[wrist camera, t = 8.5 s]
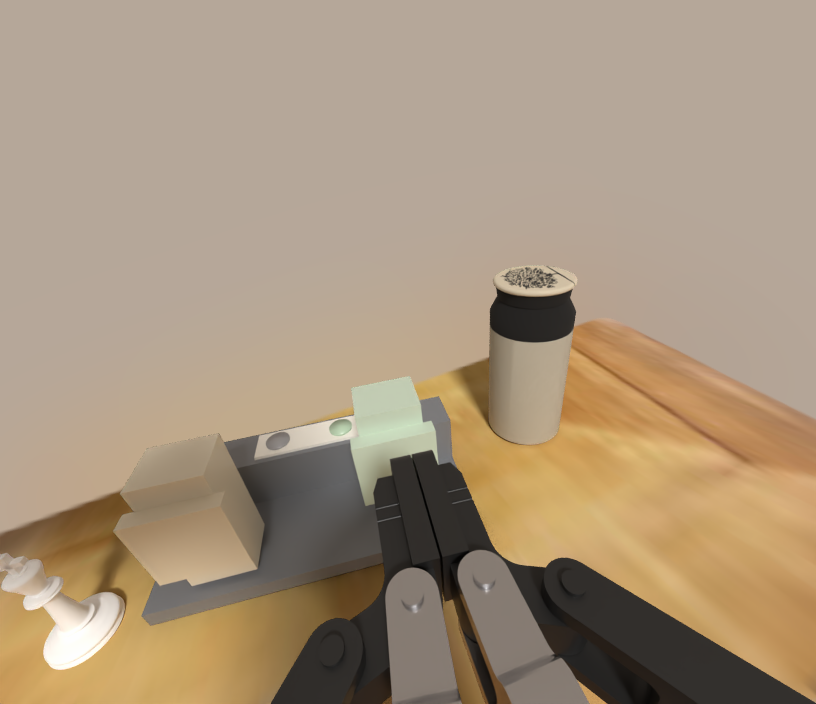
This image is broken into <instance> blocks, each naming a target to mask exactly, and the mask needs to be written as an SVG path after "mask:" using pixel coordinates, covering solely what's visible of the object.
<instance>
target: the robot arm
mask: <svg viewBox="0 0 816 704" xmlns="http://www.w3.org/2000/svg"><path fill="white" fill-rule="evenodd" d="M411 457H412V458H411ZM390 465H391V472H392V475H391V476H387V477H382V478H378V479H377V482H376V485H375V488H374V492H373V495H374V502H375V509H376V516H377V522H378V530H379V536H380V543H381V550H382V557H383V564H384V572H385V578H384V584H383V587H382V590H381V592H380V594H379V596H378V597H377V599H376V600H375V601H374V602H373V603H372V605H370V606H369V607H368V608H367V609H365V610H364V611H363V612H361V613H360V614H358V615H357V616H355V617H354V618H353V619H351V620H350V621H349V620H346V619H342V618H335V619H331V620H328V621H326V622H324V623H323V624H321V625H320V626H319V627H318V628H317V629H316V630H315V631H314V632H313V633H312V635H311V636H310V638H309V640H308V641H307V643H306V645H305V646H304V648H303V650H302V651H301V653H300V655H299V656H298V658H297V660H296V662H295V663H294V665H293V667H292V668H291V670H290V672H289V673H288V675H287V677H286V678H285V680H284V682H283V684H282V685H281V687H280V689H279V690H278V692H277V694H276V695H275V697H274V699H273V700H272V702H271V704H382V703H383V702H384V701H385V700H386V699H387V698H389V697H390V696H391V695H392V704H462V702H461V698H460V694H459V692H458V688H457V683H456V678H455V673H454V668H453V662H452V657H451V652H450V647H449V641H448V636H447V631H446V626H445V620H444V615H443V604H442V602H443V597H442V592H443V596H444V600H445V601H449V600H452V599H453V601H454V605H455V608H456V612H457V615H458V624H459V630H460V634H461V636H462V639H463V642H464V645H465V648H466V651H467V653H468V656H469V659H470V662H471V665H472V668H473V671H474V673H475V676H476V679H477V682H478V685H479V688H480V690H481V693H482V696H483V699H484V702H485V704H589V702H588V700H587V698H586V696H585V695H584V693H583V691H582V689H581V687H580V685H579V683H578V682H577V680H578V681H579V682H581V683H582V684H583V685H584V686H586V687H587V688H588V689H589V690H591V691H592V692H593V693H595V694H596V695H597V696H598V697H600V698H601V699H602V700H603V701H605V702H606V703H607V704H816V703H815V702H813V701H812V700H810V699H808V698H807V697H805V696H803V695H801V694H800V693H798V692H796V691H795V690H793V689H791V688H790V687H788V686H786V685H785V684H783V683H781V682H780V681H778V680H776V679H775V678H773V677H771V676H770V675H768V674H766V673H765V672H763V671H761V670H760V669H758V668H756V667H755V666H753V665H751V664H750V663H748V662H746V661H745V660H743V659H741V658H740V657H738V656H736V655H735V654H733V653H731V652H730V651H728V650H726V649H725V648H723V647H721V646H720V645H718V644H716V643H715V642H713V641H711V640H710V639H708V638H706V637H704V636H703V635H701V634H699V633H698V632H696V631H694V630H693V629H691V628H689V627H688V626H686V625H684V624H683V623H681V622H679V621H678V620H676V619H674V618H673V617H671V616H669V615H668V614H666V613H664V612H663V611H661V610H659V609H658V608H656V607H654V606H653V605H651V604H649V603H648V602H646V601H644V600H643V599H641V598H639V597H638V596H636V595H634V594H633V593H631V592H629V591H628V590H626V589H624V588H623V587H621V586H619V585H618V584H616V583H614V582H613V581H611V580H609V579H608V578H606V577H604V576H602V575H601V574H599V573H597V572H596V571H594V570H592V569H591V568H589V567H587V566H586V565H584V564H582V563H581V562H579V561H577V560H574V559H570V558H558V559H555V560H553V561H551V562H550V563H549V564H548V565H547V567H546V568H544V567H534V566H524V565H518V564H515V563H512V562H510V561H508V560H507V559H505V558H503V557H502V556H501V555H500V554H499V553H498V552H497V551H496V550H495V548H494V547H493V545H492V543H491V541H490V539H489V536H488V534H487V532H486V529H485V527H484V525H483V522H482V520H481V518H480V515H479V513H478V511H477V508H476V506H475V504H474V501H473V500H472V497H471V494H470V492H469V490H468V488H467V485H466V483H465V480H464V478H463V476H462V473H461V472H460V471H459V470H458V469H457V468H456V467H455V466H454V465H453V464H452V463H451V462H448V463H444V464H440V465H438V463H437V460H436V458H435V455H434V452H433V451H432V450H428V451H424V452H419V453H415V454H412V455H406V456H401V457H397V458H392V459H390ZM576 679H577V680H576Z"/></svg>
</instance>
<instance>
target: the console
mask: <svg viewBox="0 0 816 704" xmlns="http://www.w3.org/2000/svg"><path fill="white" fill-rule="evenodd" d="M420 404H421V411H422V420H423V422H428V421H432V423H433V426H434V428H435V431H436V441H437V453H438V465H440V464H444V463H448V462H451V463H452V464H453V465H454V466H455V467H456V464H455V462H454V460H453V457H452V442H451V425H450V419H449V417H448V415H447V413H446V410H445V408H444V406H443V404H442V402H441V400H440V398H439V396H438V397H434V398H429V399H424V400H420ZM356 437H359V434H358V430H357V425H356V421H355V415H350V416H345V417H340V418H336V419H331V420H326V421H322V422H317V423H312V424H307V425H303V426H298V427H293V428H289V429H284V430H279V431H275V432H270V433H265V434H261V435H256V436H251V437H247V438H242V439H237V440H233V441H228V442H224V444H225V446H226V448H227V450H228V452H229V454H230V456H231V458H232V460H233V462H234V464H235V466H236V468H237V470H238V472H239V474H240V476H241V478H242V480H243V482H244V484H245V486H246V488H247V490H248V492H249V494H250V496H251V498H252V500H253V502H254V504H255V506H256V508H257V510H258V512H259V514H260V516H261V518H262V520H263V522H264V524H265V526H264V532H263V538H262V544H261V551H260V557H259V563H258V569H256V570H252V571H248V572H245V573H241V574H237V575H233V576H229V577H225V578H222V579H218V580H214V581H210V582H206V583H202V584H198V585H195V586H191V584H190V583H189V582H188V581H187V579H184V580H181V581H177V582H173V583H169V584H165V585H161V586H160V585H159V584H158V583H157V582H156V581H155V583H154V586H153V588H152V591H151V593H150V596H149V599H148V601H147V604H146V606H145V609H144V611H143V614H142V617H143V618H144V619H145V620H146V621H147V622H148V623H149V624H150V625H155V624H159V623H162V622H166V621H170V620H174V619H177V618H181V617H185V616H188V615H192V614H196V613H200V612H203V611H207V610H211V609H214V608H218V607H222V606H226V605H229V604H233V603H237V602H240V601H244V600H248V599H252V598H255V597H259V596H263V595H266V594H270V593H274V592H277V591H281V590H285V589H289V588H292V587H296V586H300V585H303V584H307V583H311V582H315V581H318V580H322V579H326V578H329V577H333V576H337V575H341V574H344V573H348V572H352V571H355V570H359V569H363V568H367V567H370V566H374V565H378V564H381V563H383V557H382V550H381V543H380V536H379V530H378V522H377V516H376V509H375V504H372V505H368V506H365V503H364V499H363V495H362V491H361V487H360V483H359V479H358V475H357V471H356V468H355V464H354V460H353V456H352V452H351V444H350V439H351V438H356ZM456 468H457V467H456Z"/></svg>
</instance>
